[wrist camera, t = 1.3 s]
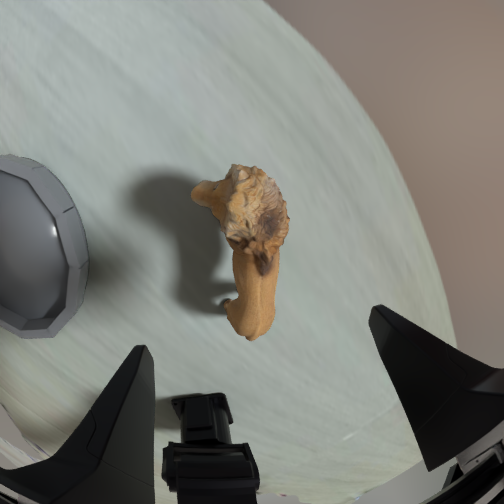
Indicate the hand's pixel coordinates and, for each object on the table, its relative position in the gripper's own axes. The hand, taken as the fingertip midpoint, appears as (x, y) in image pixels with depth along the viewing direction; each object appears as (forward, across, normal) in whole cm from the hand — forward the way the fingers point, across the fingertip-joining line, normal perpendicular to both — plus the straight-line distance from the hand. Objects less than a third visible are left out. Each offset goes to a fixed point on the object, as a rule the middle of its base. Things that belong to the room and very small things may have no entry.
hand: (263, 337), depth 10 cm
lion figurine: (+13, 0, +3) cm, 13 cm away
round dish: (+12, +21, 0) cm, 24 cm away
